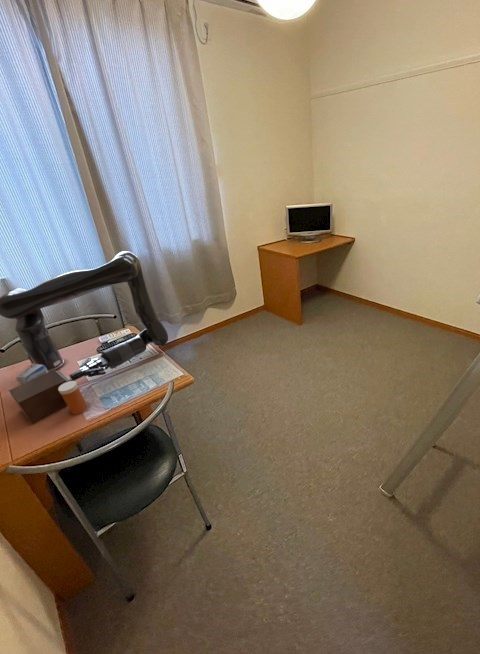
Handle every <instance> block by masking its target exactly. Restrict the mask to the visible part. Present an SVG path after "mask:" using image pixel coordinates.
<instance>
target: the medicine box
mask: <svg viewBox="0 0 480 654" xmlns="http://www.w3.org/2000/svg"><path fill="white" fill-rule="evenodd" d="M46 373H48V371H47V369H46V367H45V365H39V364H35V365H34V364H33V365H32V366H30V367H29V368H27V369H26V370H24V371H23V372H21V373H20V374H18V375H17V376H16V377H15V379H16V380H17V381H18V383H19V384H20V385H22V384H24V383H26V382H28V381H31V380H33V379H35V378H37V377H40V376H42V375H44V374H46Z"/></svg>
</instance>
